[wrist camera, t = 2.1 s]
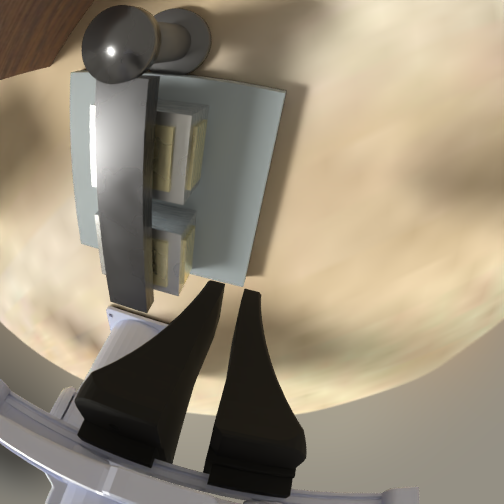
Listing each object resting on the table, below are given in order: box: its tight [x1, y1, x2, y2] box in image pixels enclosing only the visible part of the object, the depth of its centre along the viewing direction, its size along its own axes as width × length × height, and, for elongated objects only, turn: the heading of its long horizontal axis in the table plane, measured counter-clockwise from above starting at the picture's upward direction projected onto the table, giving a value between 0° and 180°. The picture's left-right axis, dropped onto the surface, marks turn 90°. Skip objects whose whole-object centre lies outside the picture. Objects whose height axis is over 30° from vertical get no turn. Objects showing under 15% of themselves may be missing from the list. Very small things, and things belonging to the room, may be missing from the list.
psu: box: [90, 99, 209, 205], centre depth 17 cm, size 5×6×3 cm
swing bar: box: [82, 5, 162, 313], centre depth 15 cm, size 18×4×2 cm, turn 170°
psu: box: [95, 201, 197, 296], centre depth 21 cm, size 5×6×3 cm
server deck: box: [70, 9, 286, 287], centre depth 18 cm, size 18×14×6 cm
